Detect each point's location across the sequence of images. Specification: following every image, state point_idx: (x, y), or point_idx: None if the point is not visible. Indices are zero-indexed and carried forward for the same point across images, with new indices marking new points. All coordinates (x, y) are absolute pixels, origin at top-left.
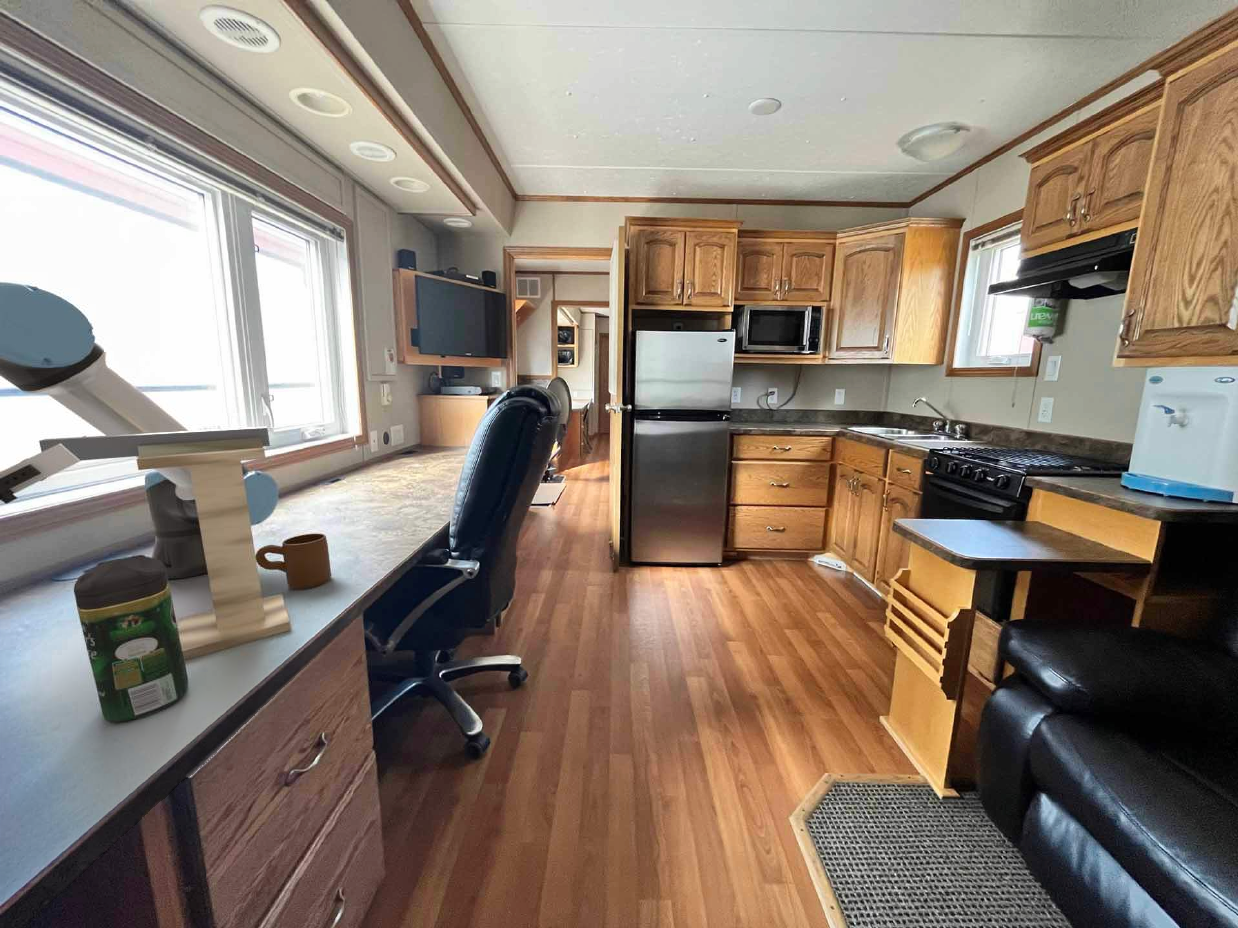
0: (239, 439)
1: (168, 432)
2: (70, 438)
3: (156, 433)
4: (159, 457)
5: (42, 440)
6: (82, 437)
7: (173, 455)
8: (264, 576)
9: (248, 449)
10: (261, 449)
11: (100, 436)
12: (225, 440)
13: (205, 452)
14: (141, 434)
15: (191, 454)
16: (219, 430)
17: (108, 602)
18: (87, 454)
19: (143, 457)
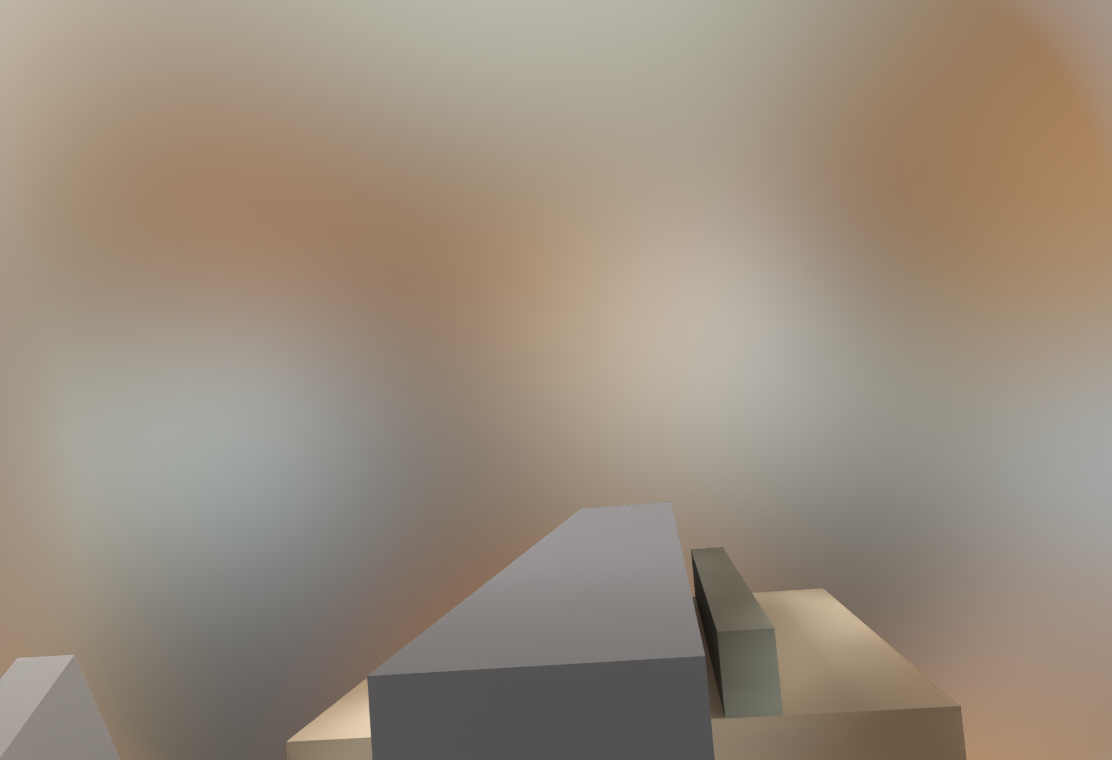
0: (722, 557)
1: (572, 540)
2: (594, 613)
3: (608, 543)
4: (921, 675)
5: (673, 651)
6: (537, 604)
7: (843, 663)
8: None
9: (783, 600)
10: (823, 590)
11: (560, 584)
12: (727, 564)
13: (782, 634)
14: (620, 550)
15: (852, 643)
16: (670, 514)
17: None
18: None
19: (841, 704)
